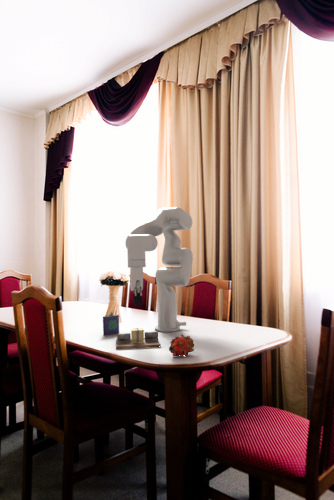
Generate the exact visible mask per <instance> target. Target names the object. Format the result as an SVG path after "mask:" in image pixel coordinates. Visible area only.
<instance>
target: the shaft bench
mask: <svg viewBox="0 0 334 500" xmlns="http://www.w3.org/2000/svg"><path fill="white" fill-rule="evenodd" d="M159 346H160V347H161V343H160V341H159V331H144V342H133V343H132V340H131V332H129V333H127V332H126V333H118V334H116V338H115V349H116V350H127V349H128V350H129V349H131V348H136V349H146V348H145V347H157V348H160V347H159ZM131 350H132V349H131Z"/></svg>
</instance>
